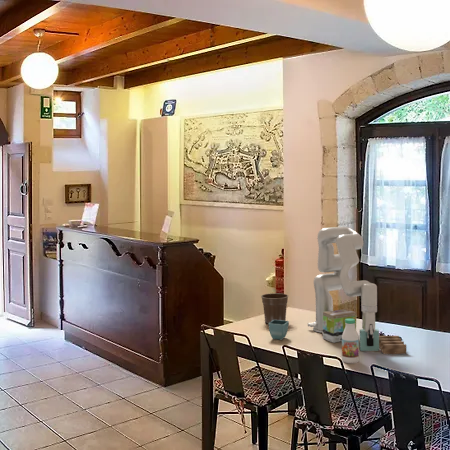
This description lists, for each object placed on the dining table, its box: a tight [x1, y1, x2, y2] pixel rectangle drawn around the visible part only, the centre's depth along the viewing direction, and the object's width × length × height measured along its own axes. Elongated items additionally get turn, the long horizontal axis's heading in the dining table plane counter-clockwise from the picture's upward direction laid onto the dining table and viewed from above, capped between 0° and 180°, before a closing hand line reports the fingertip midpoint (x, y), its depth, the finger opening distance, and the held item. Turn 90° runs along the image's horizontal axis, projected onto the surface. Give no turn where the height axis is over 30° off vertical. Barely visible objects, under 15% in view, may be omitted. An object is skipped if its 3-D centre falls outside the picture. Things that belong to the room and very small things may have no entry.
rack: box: [379, 335, 407, 355], centre depth 304 cm, size 11×16×4 cm
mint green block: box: [359, 328, 380, 352], centre depth 304 cm, size 9×3×10 cm, turn 87°
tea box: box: [322, 308, 357, 344], centre depth 324 cm, size 15×10×15 cm
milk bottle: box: [341, 318, 360, 364], centre depth 286 cm, size 8×8×20 cm
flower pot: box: [267, 320, 290, 341], centre depth 328 cm, size 9×9×9 cm
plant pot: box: [260, 292, 289, 324], centre depth 362 cm, size 16×16×16 cm
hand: (369, 344), depth 304 cm, fingers open, 4 cm apart
